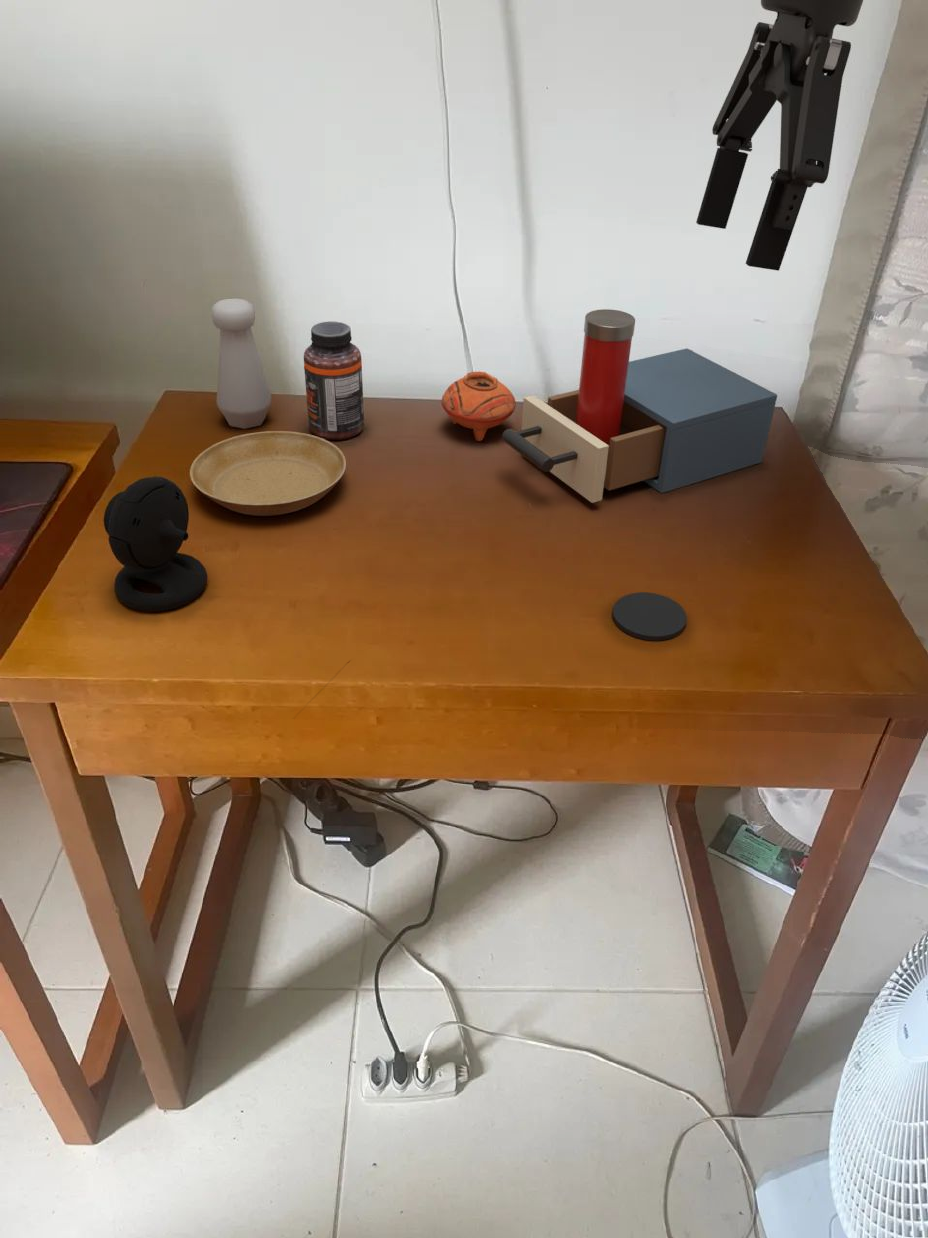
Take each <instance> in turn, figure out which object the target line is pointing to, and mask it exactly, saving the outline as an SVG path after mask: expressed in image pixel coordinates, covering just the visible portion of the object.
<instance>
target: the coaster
mask: <svg viewBox="0 0 928 1238" xmlns="http://www.w3.org/2000/svg"><path fill="white" fill-rule="evenodd" d="M611 616H612V620H613V622H614V624H615V625H616V626H617V628H618V629H619V630H621V631H622V632H623V633H625V634H626V635H629V636H631V637H633V638H635V639H639V640H644V641H651V642H657V641H658V642H660V641H661V642H662V641H666V640H670V639H674V638H676V637H677V636H679V635H680V634H681V633H682V632H683V631H684V630H685V628H686V625H687V620H688V617H687V614H686V611H685V609H684V608H683V607H682V606H681V604H679V602H677V601H676V600H674V599H672V598H670V597H669V596H665V595H663V594H659V593H655V592H647V591H646V592H645V591H643V592H641V591H640V592H631V593H629V594H625V595H623V596H621V597H620V598H618V600H616V601H615V603H614V604H613V607H612V613H611Z"/></svg>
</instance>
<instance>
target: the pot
mask: <svg viewBox="0 0 928 1238" xmlns="http://www.w3.org/2000/svg"><path fill="white" fill-rule="evenodd" d="M516 404H517V403H516V398H515V396H514V394H513V393H512V391H511V390H510V389H509V387H507V386H506V385H505V384H504V383H502V382H501V381H499V380H498V378H496V377H495V376H493V375H491V374H489V373H488V372H485V371H471V372H467V373H466V374H465V375H464V376H463V377H460V378H459V379H457V380H455V381H454V382H453V383H451V384H450V385H449V386H448V387H447V388H446V389H445V391H444V392H443V394H442V398H441V406H442V408H443V410H444V411H445V413H446V414H447V415H448V416H449V417H450V418H451V421H452V423H453V424H454V425H456V424H458V425H460V426H462V427H464V428H468V429H473V430H472V432H473V435H474V438H475V441H476V442H480V441H483V439H484V438H485V436H486V432H487V431H488V429H491V428H495V427H497V426H502V425H503V423H504V422H505V421H506V420H509V418H510V417H511V416H512V415H513V413H514V412H515V410H516V407H517V406H516Z"/></svg>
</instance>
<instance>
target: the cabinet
mask: <svg viewBox="0 0 928 1238" xmlns="http://www.w3.org/2000/svg"><path fill="white" fill-rule="evenodd" d="M777 398H778V394H777V393H775V392H773V391H771V390H769V389H767V388H765V387H763V386H761V385H759V384H757V383H756V382H753V381H752V380H750V379H748V378H745V377H744V376H742V375H740V374H738V373H736V372H734V371H732V370H730V369H728V368H727V367H724V366H722V365H721V364H719V363H716V362H714V361H713V360H711V359H708V358H707V357H705V356H703V355H701V354H700V353H697V352H695V351H694V350H691V349H689V348H688V347H687V348H682V349H678V350H674V351H670V352H665V353H660V354H657V355H656V354H655V355H652V356H647V357H644V358H638V359H635V360H629V364H628V372H627V379H626V387H625V394H624V402H626V403H628V404H629V405H631V406H633V407H634V408H636V409H638V410H639V411H641V412H642V413H644V414H646V415H647V416H649V417H651V418H652V419H654V420H656V421H657V422H659V423H661V424H662V425H664V426H665V427H667V429H666V436H665V442H664V448H663V454H662V460H661V466H660V472H659V476H656V477H653V478H650V479H646V480H643V481H642V482H644V483H646V484H647V485H648V486H650V487H651V488H653V489H654V490H655V491H657V492H658V493H660V494H664V493H667V492H670V491H671V492H672V491H674V490H677V489H680V488H684V487H687V486H690V485H693V484H696V483H699V482H703V481H706V480H709V479H712V478H716V477H719V476H722V475H726V474H728V473H732V472H735V471H738V470H742V469H745V468H748V467H751V466H754V465H757V464H761V463H763V459H764V455H765V450H766V446H767V442H768V437H769V435H770V434H769V433H770V428H771V426H772V425H771V424H772V421H773V417H774V412H775V408H776V405H777V404H776V403H777Z"/></svg>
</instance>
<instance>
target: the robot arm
mask: <svg viewBox="0 0 928 1238" xmlns="http://www.w3.org/2000/svg"><path fill="white" fill-rule="evenodd" d="M863 3H864V0H760V5H761V8H762V9H763V10H765V11H770V12H775V13H776V14H777V15H776V19H775V20H774V23H773V24H771V23H766V22H762V21H758V22H757V23H756V25H755V27H754V31H753V34H752V37H751V40H750V43H749V47H748V49H747V52H746V54H745V56H744V58H743V60H742V63H741V64H740V67H739V69H738V71H737V73H736V75H735V78H734V79H733V82H732V85H731V87H730V89H729V90H728V93H727V95H726V97H725V99H724V101H723V103H722V106H721V108H720V110H719V113H717V116H716V119H715V120H714V122H713V126H712V129H711V131H712V135H713V136H717V137H716V146H717V148H716V152H715V156H714V159H713V162H712V165H711V169H710V174H709V177H708V180H707V182H706V183H707V184H706V187H705V190H704V194H703V197H702V200H701V204H700V208H699V210H698V214H697V218H696V224H697V225H699V226H704V227H711V228H716V229H723V230H726V228H727V226H728V222H729V219H730V216H731V213H732V209H733V206H734V203H735V199H736V196H737V192H738V190H739V186H740V183H741V180H742V177H743V173H744V170H745V167H746V163H747V160H748V157H749V154H748V153H747V152H750V153H751V152H752V151H753V141H752V140H753V139H752V138H753V137H754V136H755V134H756V132H757V131H758V129H759V128H760V126H761V125H762V123H763V122H764V121H765V119H766V117H767V116H768V114H769V113H770V111H771V110H772V108H773V107H774V106H775V104H776V103H779V104H780V105H781V108H780V109H781V112H780V145H779V147H780V148H779V168H777V170H776V171H775V172H774V173H773V174H772V175H771V176H770V181H771V183H770V186H769V188H768V189H769V190H768V192H767V196H766V198H765V202H764V204H763V208H762V211H761V214H760V217H759V220H758V223H757V226H756V230H755V232H754V235H753V239H752V242H751V245H750V248H749V251H748V254H747V258H746V261H745V264H746V266H748V267H753V268H759V269H765V270H770V271H777V272H778V271H780V270H781V266H782V264H783V260H784V258H785V255H786V253H787V249H788V245H789V242H790V240H791V237H792V234H793V232H794V228H795V226H796V222H797V219H798V216H799V213H800V210H801V208H802V205H803V202H804V199H805V196H806V193H807V190H808V188H812V187H813V186H814V184H824V183H825V182H826V181H827V180H828V177H829V173H830V165H831V159H832V152H833V146H834V145H833V144H834V139H835V131H836V127H837V126H836V124H837V119H838V111H839V105H840V97H841V91H842V83H843V77H844V73H845V70H846V67H847V63H848V60H849V56H850V53H851V49H852V43H851V42H850V41H847V40H843V39H838V38H833V36H834V30H835V28H836V26H837V25H839V26H842V27H851V26H853V25H854V24H856V22H857V20H858V18H859V14H860V11H861V8H862V6H863Z"/></svg>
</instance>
